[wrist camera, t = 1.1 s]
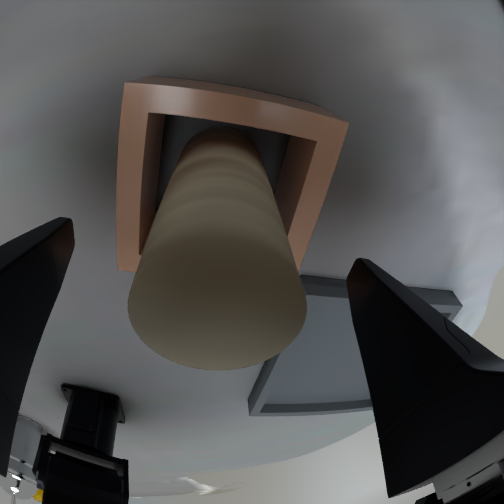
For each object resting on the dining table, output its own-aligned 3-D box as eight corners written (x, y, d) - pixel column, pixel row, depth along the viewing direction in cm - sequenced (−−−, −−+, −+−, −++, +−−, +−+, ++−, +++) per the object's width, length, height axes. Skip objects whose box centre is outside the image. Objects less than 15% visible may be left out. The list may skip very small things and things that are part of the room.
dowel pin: (251, 207, 16) (279, 374, 8) (175, 196, 16) (133, 360, 8) (269, 134, 14) (333, 259, 6) (185, 120, 13) (124, 231, 5)
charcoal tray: (369, 396, 31) (374, 409, 29) (247, 400, 28) (249, 416, 27) (452, 291, 22) (462, 305, 20) (300, 275, 19) (306, 294, 18)
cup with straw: (53, 439, 37) (38, 539, 21) (7, 418, 34) (-14, 516, 17) (53, 425, 33) (35, 543, 17) (1, 401, 30) (-26, 515, 13)
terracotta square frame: (278, 244, 18) (290, 291, 15) (136, 224, 16) (117, 269, 13) (319, 105, 13) (349, 123, 10) (150, 75, 12) (124, 82, 9)
